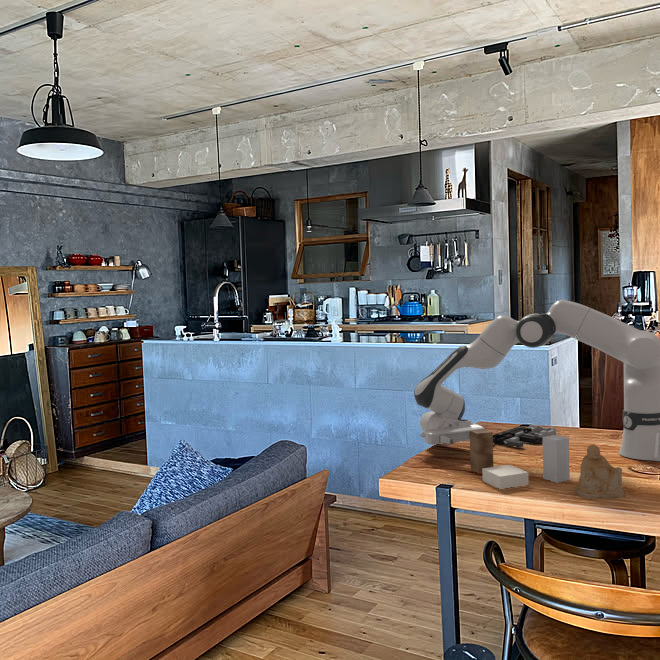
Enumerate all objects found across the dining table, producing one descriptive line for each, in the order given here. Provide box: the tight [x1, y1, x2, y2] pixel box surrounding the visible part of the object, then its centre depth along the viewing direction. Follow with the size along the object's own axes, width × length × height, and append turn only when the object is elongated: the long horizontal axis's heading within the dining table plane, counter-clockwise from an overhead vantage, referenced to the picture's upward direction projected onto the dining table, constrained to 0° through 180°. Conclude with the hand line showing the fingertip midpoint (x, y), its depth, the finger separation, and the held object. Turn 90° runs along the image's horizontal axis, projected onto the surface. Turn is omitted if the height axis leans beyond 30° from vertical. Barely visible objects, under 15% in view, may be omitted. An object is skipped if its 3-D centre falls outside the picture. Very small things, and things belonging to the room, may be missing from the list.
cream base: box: [481, 464, 529, 490], centre depth 187 cm, size 9×9×4 cm
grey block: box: [542, 434, 571, 484], centre depth 189 cm, size 5×5×12 cm
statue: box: [574, 444, 626, 500], centre depth 176 cm, size 12×14×10 cm
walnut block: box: [469, 428, 494, 474], centre depth 200 cm, size 5×5×12 cm
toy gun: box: [492, 424, 557, 448], centre depth 235 cm, size 4×33×15 cm
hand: (464, 439), depth 212 cm, fingers open, 8 cm apart
